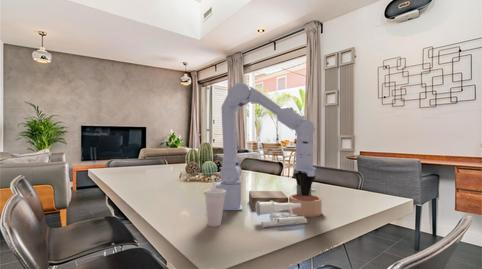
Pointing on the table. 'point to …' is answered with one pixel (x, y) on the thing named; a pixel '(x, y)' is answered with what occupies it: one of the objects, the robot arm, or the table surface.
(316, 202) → the bowl
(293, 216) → the white joined tubes piece
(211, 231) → the table surface
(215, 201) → the smoothie
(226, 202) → the robot arm
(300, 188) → the connector
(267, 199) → the board
